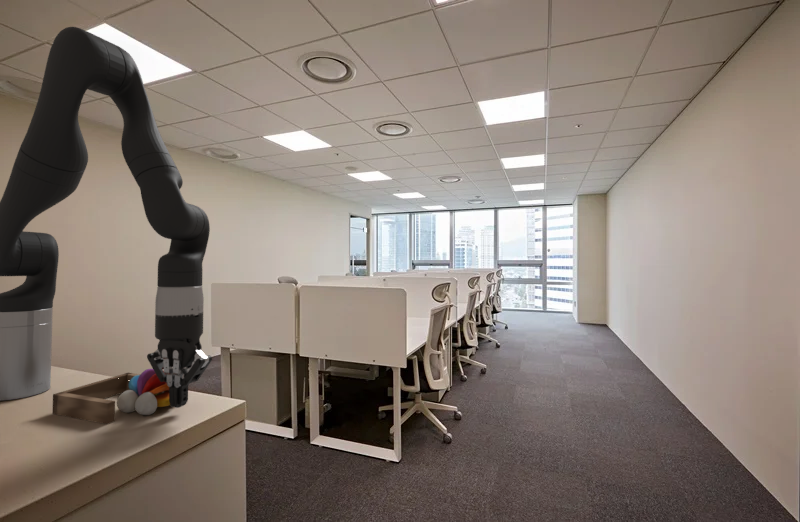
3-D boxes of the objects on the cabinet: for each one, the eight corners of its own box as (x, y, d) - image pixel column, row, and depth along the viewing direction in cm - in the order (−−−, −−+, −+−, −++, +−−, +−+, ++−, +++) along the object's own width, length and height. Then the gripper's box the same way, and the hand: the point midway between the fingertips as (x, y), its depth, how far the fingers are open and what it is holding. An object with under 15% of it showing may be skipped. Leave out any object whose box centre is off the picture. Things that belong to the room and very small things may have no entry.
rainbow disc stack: (152, 420, 63) (153, 378, 63) (107, 414, 65) (109, 373, 65) (190, 402, 71) (191, 365, 71) (149, 397, 73) (150, 361, 73)
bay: (52, 413, 65) (53, 394, 65) (127, 388, 78) (128, 372, 78) (107, 424, 61) (107, 403, 61) (176, 396, 74) (176, 379, 74)
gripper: (132, 311, 64) (130, 409, 64) (192, 315, 60) (190, 419, 60) (169, 307, 71) (168, 394, 71) (225, 310, 68) (223, 402, 68)
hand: (178, 405), depth 66 cm, fingers closed
